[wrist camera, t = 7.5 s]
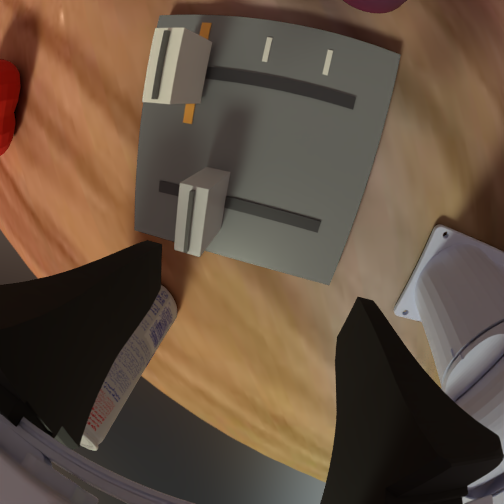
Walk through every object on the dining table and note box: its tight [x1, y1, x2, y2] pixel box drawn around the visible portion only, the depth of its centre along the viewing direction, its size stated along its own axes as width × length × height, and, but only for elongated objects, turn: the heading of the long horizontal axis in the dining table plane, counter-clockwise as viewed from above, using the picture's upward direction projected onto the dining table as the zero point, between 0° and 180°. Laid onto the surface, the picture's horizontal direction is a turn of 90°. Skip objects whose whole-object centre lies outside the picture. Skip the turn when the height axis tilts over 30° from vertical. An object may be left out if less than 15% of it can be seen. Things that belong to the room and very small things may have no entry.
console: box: [135, 15, 400, 285], centre depth 16 cm, size 15×16×6 cm
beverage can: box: [80, 285, 177, 451], centre depth 20 cm, size 6×6×15 cm
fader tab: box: [142, 28, 212, 104], centre depth 13 cm, size 2×4×4 cm, turn 170°
